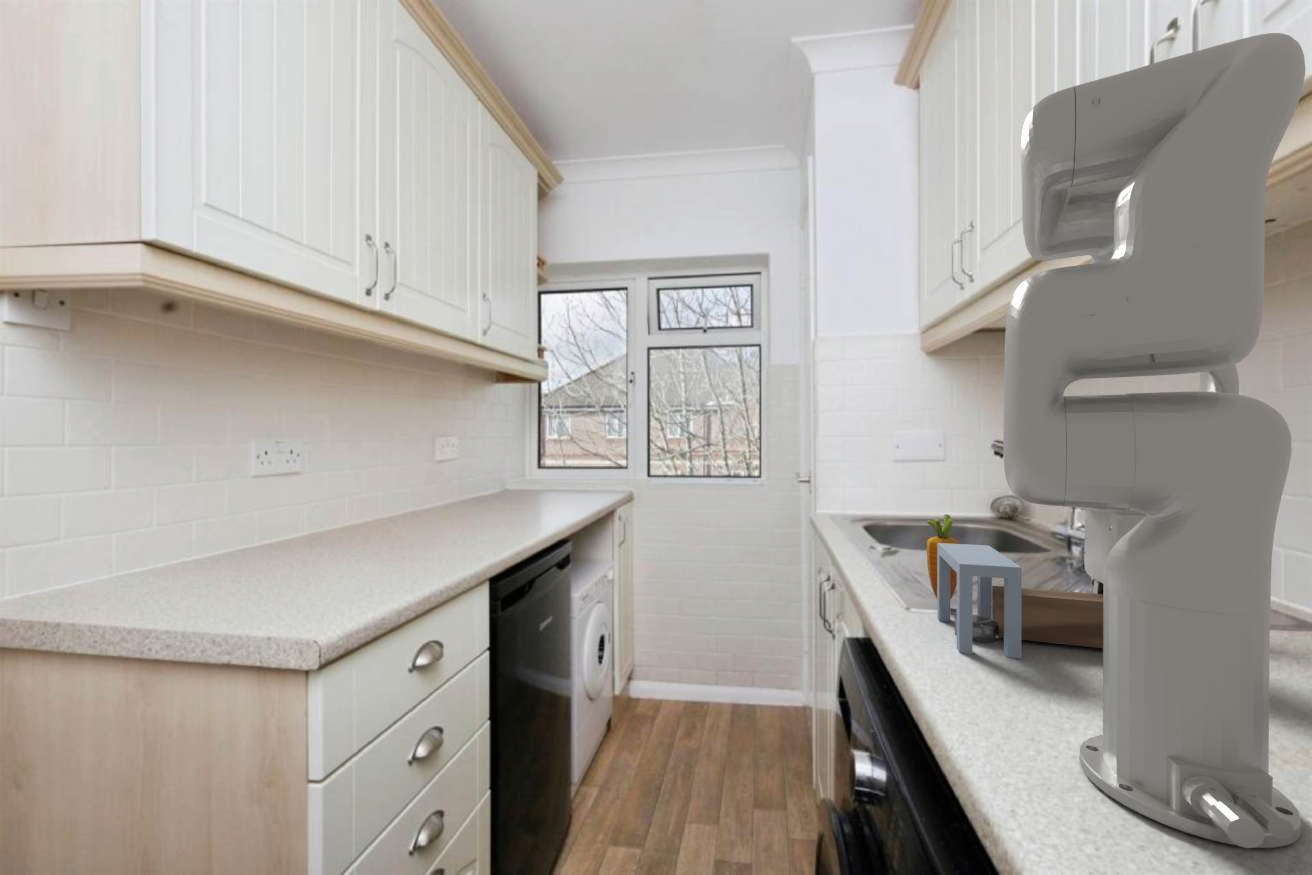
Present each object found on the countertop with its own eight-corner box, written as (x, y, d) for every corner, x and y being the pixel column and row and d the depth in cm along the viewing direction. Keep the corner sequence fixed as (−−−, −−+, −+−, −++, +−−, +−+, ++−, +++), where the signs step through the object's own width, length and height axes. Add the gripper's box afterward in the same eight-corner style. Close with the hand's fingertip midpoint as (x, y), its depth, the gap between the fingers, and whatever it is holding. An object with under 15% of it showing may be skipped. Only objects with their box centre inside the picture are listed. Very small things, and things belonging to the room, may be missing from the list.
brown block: (1164, 654, 69) (1164, 606, 69) (999, 637, 75) (999, 593, 75) (1147, 643, 73) (1148, 597, 73) (991, 627, 79) (992, 585, 79)
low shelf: (1021, 658, 70) (1021, 567, 70) (959, 652, 72) (959, 563, 72) (988, 621, 83) (988, 545, 83) (937, 617, 85) (937, 542, 85)
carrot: (939, 612, 88) (939, 517, 87) (919, 603, 92) (919, 513, 92) (967, 610, 88) (968, 516, 88) (946, 601, 93) (946, 512, 93)
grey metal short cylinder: (1001, 645, 74) (1001, 628, 74) (959, 642, 76) (959, 624, 76) (989, 632, 79) (989, 616, 79) (951, 629, 81) (951, 613, 81)
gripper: (1195, 509, 63) (1194, 668, 64) (1120, 493, 79) (1119, 621, 80) (1116, 506, 66) (1115, 660, 66) (1059, 492, 82) (1058, 616, 82)
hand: (1117, 637), depth 73 cm, fingers closed on brown block, 4 cm apart
